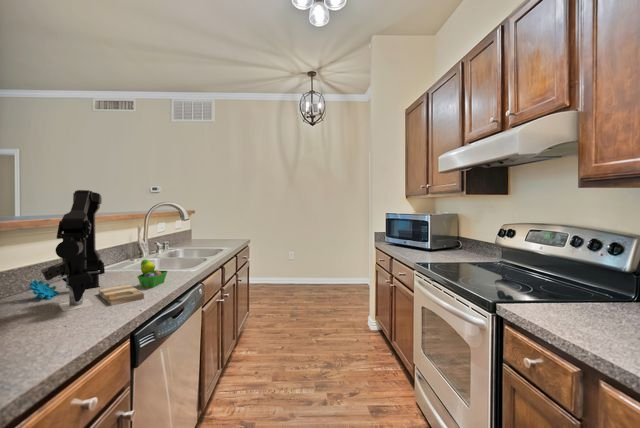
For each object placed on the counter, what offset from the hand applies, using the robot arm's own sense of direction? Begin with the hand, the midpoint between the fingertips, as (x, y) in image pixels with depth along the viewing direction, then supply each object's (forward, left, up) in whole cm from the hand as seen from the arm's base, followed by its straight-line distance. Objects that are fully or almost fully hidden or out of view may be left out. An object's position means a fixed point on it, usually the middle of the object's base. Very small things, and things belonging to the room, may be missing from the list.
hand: (76, 300), depth 102 cm
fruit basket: (-14, +28, -3) cm, 31 cm away
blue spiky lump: (-18, -6, -3) cm, 19 cm away
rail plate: (0, +13, -3) cm, 13 cm away
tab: (0, 0, -3) cm, 3 cm away
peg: (0, 0, -1) cm, 1 cm away
